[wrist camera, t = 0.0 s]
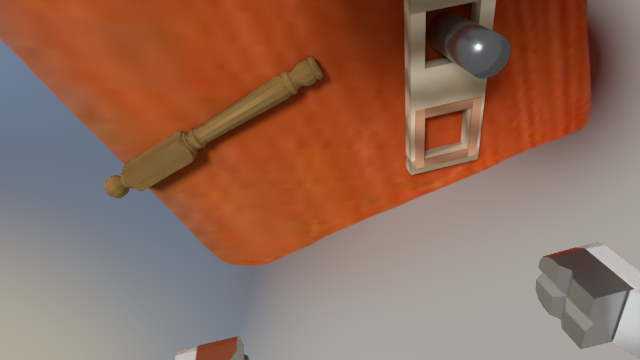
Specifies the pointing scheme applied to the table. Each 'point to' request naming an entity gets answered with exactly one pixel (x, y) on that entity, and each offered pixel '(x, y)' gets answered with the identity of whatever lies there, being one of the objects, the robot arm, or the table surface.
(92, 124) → the table surface
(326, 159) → the table surface
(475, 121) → the beige flat frame
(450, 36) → the steel peg
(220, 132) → the turned wooden spindle
